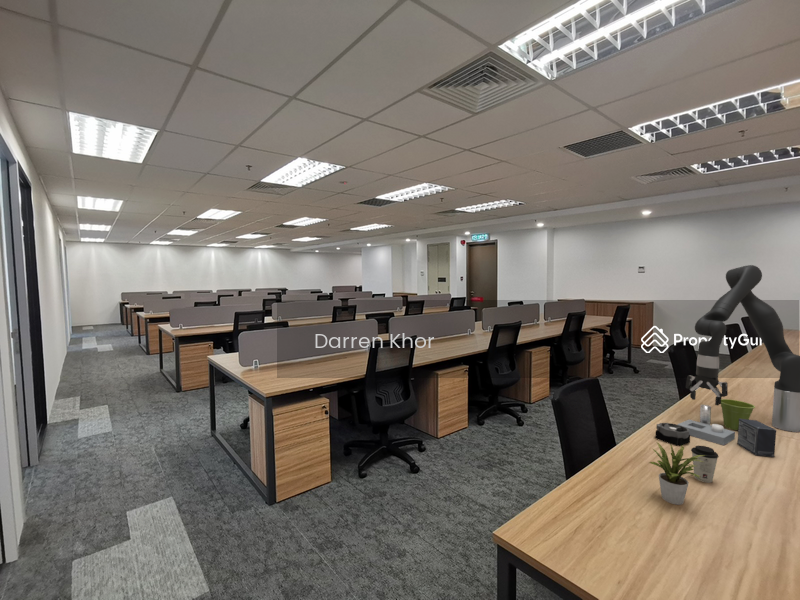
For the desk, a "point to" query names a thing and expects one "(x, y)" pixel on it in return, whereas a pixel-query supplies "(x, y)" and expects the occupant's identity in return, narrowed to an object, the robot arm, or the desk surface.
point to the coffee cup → (704, 463)
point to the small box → (756, 437)
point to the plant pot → (735, 412)
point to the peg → (705, 414)
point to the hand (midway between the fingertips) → (705, 402)
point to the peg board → (709, 432)
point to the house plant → (674, 475)
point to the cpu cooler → (672, 434)
